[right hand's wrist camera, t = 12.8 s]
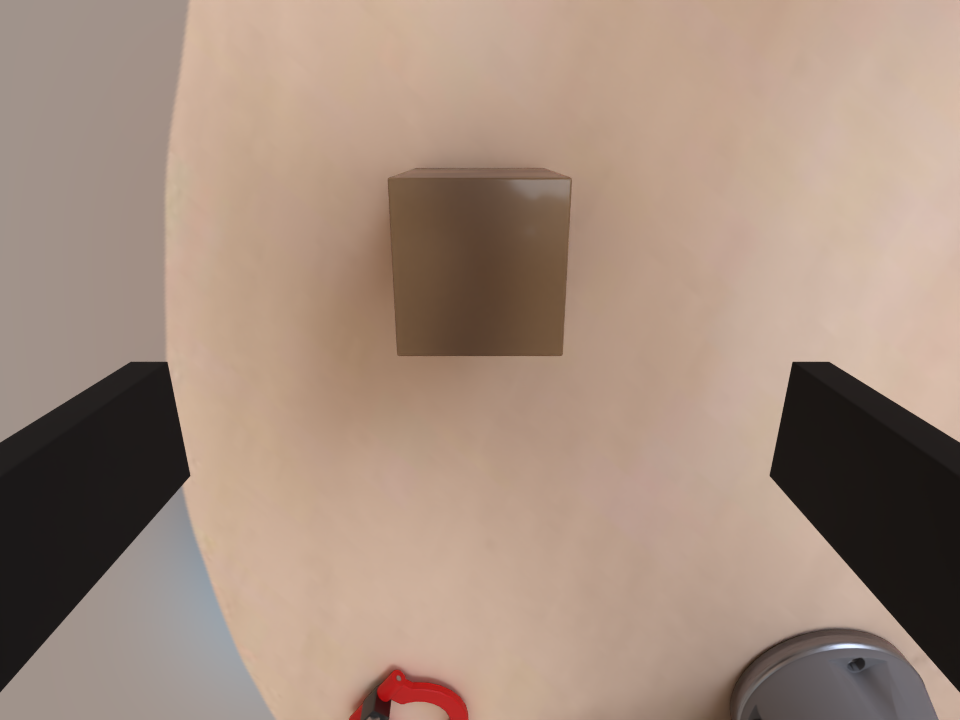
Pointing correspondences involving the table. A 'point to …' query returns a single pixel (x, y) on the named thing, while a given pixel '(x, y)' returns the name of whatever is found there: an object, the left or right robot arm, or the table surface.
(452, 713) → the tow hook
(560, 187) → the block
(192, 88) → the table surface
